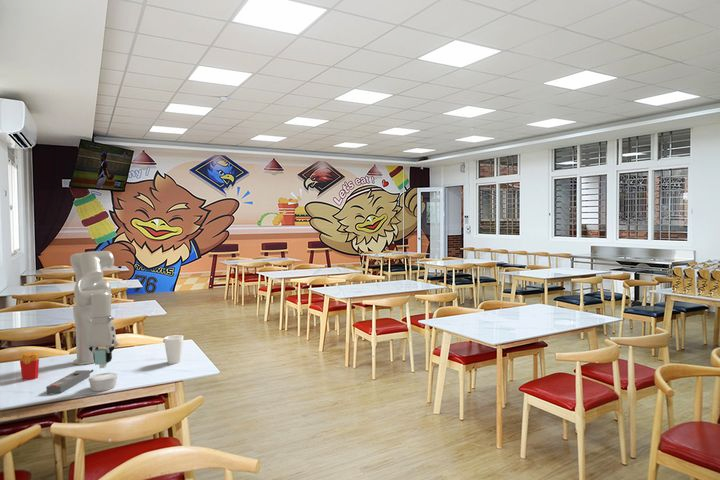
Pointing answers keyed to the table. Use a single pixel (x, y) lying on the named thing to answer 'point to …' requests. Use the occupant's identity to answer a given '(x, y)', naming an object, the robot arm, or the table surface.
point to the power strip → (68, 381)
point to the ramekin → (103, 381)
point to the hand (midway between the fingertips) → (102, 361)
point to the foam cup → (173, 348)
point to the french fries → (29, 365)
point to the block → (100, 357)
